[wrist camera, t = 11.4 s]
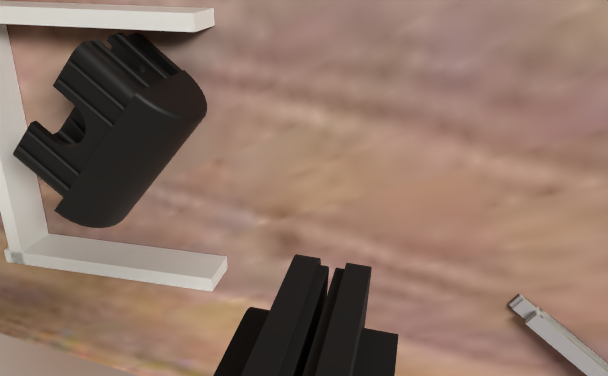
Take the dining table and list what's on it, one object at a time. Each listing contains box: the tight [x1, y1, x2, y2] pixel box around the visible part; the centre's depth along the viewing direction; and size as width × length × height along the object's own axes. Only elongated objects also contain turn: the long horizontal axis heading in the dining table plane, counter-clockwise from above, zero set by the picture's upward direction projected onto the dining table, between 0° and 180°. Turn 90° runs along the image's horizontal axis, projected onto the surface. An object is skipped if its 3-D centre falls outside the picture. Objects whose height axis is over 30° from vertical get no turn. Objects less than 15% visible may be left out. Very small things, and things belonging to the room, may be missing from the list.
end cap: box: [13, 33, 207, 228], centre depth 33 cm, size 10×7×7 cm
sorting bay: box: [0, 1, 227, 291], centre depth 36 cm, size 18×16×3 cm
